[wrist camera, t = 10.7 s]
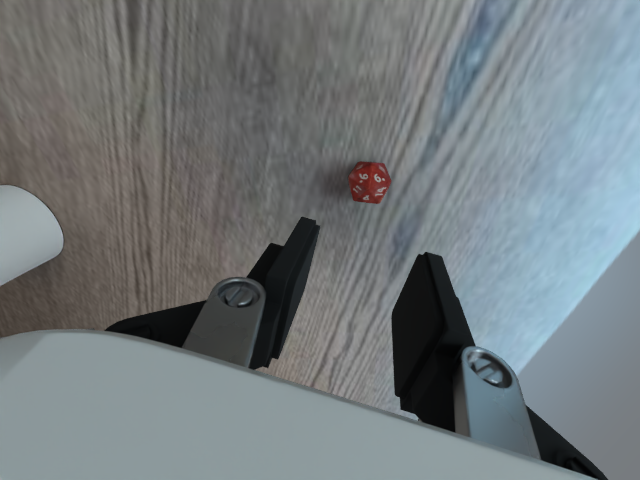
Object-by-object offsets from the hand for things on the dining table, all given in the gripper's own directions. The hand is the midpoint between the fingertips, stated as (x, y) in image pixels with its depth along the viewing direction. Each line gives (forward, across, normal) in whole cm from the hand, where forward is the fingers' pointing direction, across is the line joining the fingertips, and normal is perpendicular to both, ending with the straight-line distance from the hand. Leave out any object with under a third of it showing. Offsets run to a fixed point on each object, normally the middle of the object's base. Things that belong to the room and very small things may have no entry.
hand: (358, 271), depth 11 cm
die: (+13, 0, 0) cm, 13 cm away
